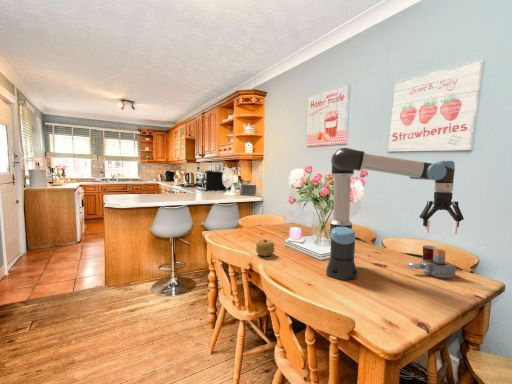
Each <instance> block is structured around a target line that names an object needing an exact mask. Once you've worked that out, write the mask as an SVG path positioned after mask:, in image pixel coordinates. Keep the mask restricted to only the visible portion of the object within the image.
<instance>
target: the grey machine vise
mask: <svg viewBox="0 0 512 384" xmlns="http://www.w3.org/2000/svg"><path fill="white" fill-rule="evenodd" d="M407 268H408V269H414V270H416V269H417V270H422V271H423V273H424V274H425V275H427V276H429V277H431V276H432V278H434V279H435V278H436V279H439V278H440V279H441V280H452V279H453V275H454V276H455V275H456V270H457V269H456V268H457V267H456V266H455V265H453V264H451V263H448V262H447V261H445V265H436V264H434V263H433V260H424V259H422V261H420V263H407Z"/></svg>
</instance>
